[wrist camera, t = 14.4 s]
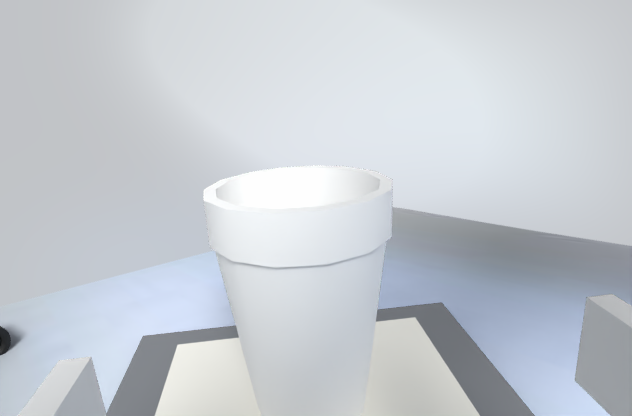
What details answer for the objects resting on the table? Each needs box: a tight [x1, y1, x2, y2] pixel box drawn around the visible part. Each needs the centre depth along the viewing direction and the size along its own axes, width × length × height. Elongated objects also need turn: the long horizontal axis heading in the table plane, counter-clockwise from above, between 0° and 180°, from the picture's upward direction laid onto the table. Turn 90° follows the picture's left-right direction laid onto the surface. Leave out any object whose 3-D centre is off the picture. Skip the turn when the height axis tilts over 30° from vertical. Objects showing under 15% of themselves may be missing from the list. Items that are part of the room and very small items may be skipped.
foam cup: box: [204, 166, 392, 416], centre depth 23 cm, size 10×9×13 cm
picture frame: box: [106, 303, 535, 416], centre depth 25 cm, size 24×18×1 cm
